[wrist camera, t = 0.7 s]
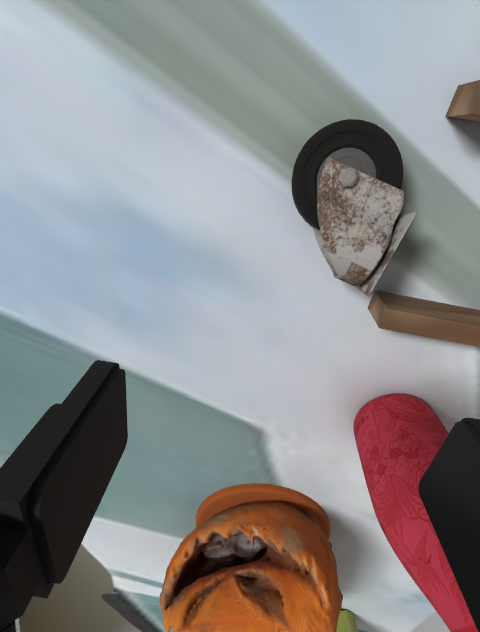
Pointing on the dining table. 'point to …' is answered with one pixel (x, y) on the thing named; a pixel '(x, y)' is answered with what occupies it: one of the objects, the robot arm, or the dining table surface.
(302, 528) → the pumpkin
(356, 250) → the caster wheel
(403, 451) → the wine bottle
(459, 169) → the dining table surface
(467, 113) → the brown wooden frame
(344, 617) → the plant pot
